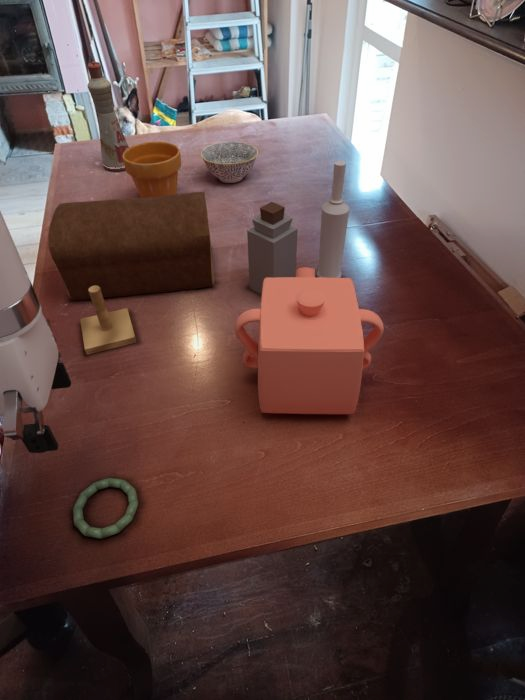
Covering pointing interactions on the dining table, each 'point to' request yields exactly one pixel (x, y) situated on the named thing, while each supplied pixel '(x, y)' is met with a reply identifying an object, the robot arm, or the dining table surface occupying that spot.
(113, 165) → the bottle
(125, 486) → the ring
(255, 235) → the perfume bottle
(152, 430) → the dining table surface
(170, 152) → the flower pot
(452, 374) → the dining table surface
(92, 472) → the dining table surface
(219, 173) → the bowl
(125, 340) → the stand
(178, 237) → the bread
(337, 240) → the bottle
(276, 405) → the teapot
